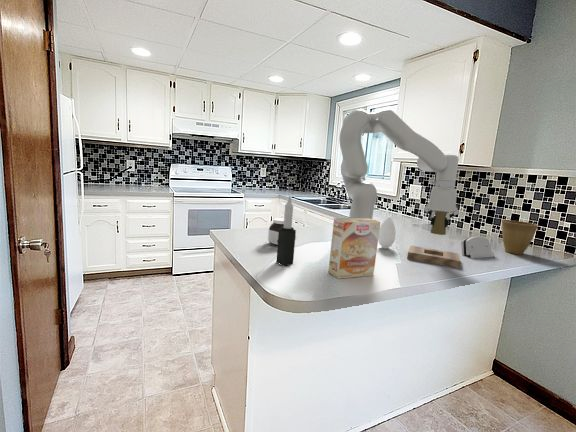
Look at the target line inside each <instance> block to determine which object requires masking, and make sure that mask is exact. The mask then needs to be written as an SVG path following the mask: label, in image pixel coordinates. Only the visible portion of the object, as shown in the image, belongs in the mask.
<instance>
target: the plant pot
mask: <svg viewBox="0 0 576 432" xmlns="http://www.w3.org/2000/svg"><path fill="white" fill-rule="evenodd" d="M538 227H539V224H536V223H531V222H527V221H520V220H511V219H502V220H501V233H502V242H503V247H504V251H505V252H506V253H508V254H514V255H523V254H524V253H525V252H526V250H527V249H528V247H529V245H530V244H531V242H532V240H533V238H534V236H535V234H536V232H537V229H538Z"/></svg>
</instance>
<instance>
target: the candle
mask: <svg viewBox="0 0 576 432" xmlns="http://www.w3.org/2000/svg"><path fill="white" fill-rule="evenodd" d="M291 198H292V196H290V195H289V196H288V199H287V202H286V203H285V205H284V216H283V219H284V227H281V229H279V234H278V247H277V250H276V262H278V263H280V264H282V265H281V266H283V265H287V266H289V264H290V265H293V264H294V256H295V247H296V246H295V245H296V243H295V242H296V240H295V235H296V233H297V229H294V227H292V224H293V216H294V215H293V213H294V205H293V203H292V199H291ZM296 236H297V235H296ZM278 263H277V264H278ZM280 264H279V265H280Z"/></svg>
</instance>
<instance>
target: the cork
mask: <svg viewBox="0 0 576 432" xmlns="http://www.w3.org/2000/svg"><path fill="white" fill-rule="evenodd" d="M446 214H447V212H441V211H435V215H434V216H435V222H434V226H433V227H432V226H431V228H430V233H431V234H433V235H439V236H440V235H441V236H443V235H444V236H445V235H446V234H447V228H446V229H445V228H444V227H445V219H446Z"/></svg>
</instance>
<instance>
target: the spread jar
mask: <svg viewBox="0 0 576 432" xmlns="http://www.w3.org/2000/svg"><path fill="white" fill-rule="evenodd" d="M272 219H273V220H272V223H271V224H270V225H269V228H268V233H267V234H268V237H267V240H268V243H269V244H270V245H271V246H273V247H276V246H278V234H279V229H281V227H284V217H283V218H282V217H281V218H280V217H277V218H272ZM296 240H297V235H295V241H296Z"/></svg>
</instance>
